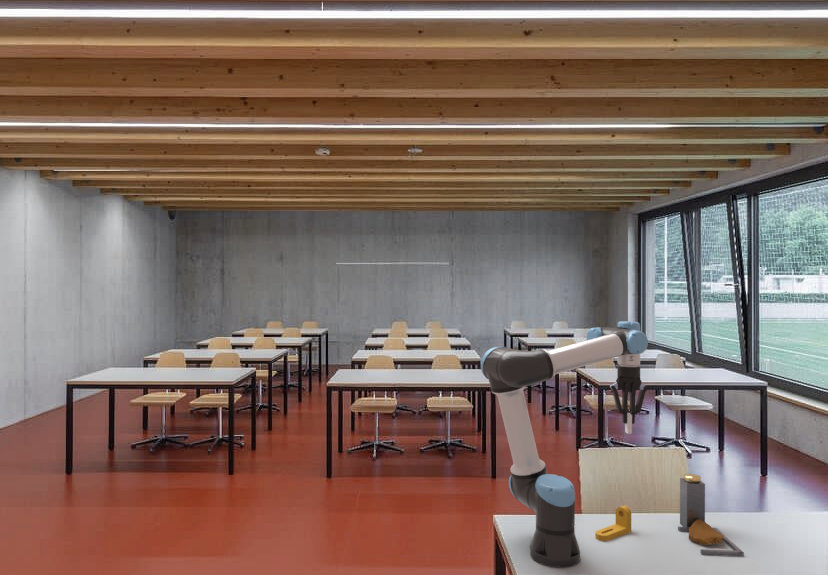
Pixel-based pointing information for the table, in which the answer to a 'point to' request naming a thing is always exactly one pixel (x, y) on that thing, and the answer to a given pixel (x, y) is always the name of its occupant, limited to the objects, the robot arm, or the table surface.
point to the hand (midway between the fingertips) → (628, 432)
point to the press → (699, 515)
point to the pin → (692, 478)
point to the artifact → (704, 533)
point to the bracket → (616, 525)
